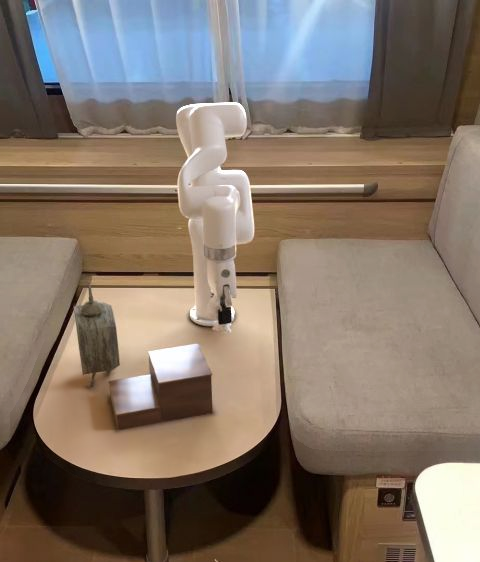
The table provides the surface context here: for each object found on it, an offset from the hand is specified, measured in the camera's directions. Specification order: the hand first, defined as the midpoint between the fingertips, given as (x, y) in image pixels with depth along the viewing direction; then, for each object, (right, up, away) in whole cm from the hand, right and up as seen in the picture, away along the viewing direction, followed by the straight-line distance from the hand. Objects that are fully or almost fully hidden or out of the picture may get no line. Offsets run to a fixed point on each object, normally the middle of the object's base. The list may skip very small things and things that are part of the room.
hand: (221, 315), depth 183 cm
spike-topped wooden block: (-30, -15, +7) cm, 34 cm away
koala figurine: (0, -3, +1) cm, 3 cm away
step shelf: (-14, -21, -5) cm, 26 cm away
